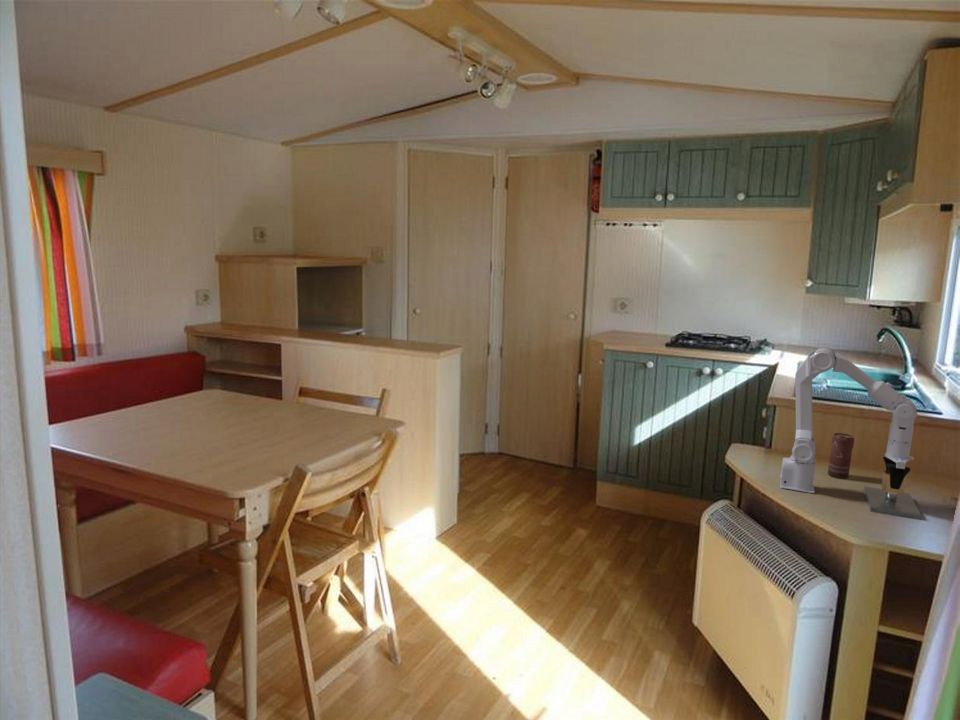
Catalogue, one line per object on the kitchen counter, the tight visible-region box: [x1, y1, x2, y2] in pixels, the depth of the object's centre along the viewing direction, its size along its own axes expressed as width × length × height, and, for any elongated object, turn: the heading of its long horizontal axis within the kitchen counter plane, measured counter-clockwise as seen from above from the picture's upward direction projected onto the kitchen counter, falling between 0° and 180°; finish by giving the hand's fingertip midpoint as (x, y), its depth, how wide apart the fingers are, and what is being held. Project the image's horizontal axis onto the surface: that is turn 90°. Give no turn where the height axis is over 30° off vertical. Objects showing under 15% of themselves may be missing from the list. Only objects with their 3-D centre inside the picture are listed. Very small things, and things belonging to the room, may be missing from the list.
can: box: [827, 432, 855, 480], centre depth 213 cm, size 6×6×14 cm
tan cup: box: [880, 469, 907, 493], centre depth 189 cm, size 6×6×5 cm
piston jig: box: [862, 486, 922, 521], centre depth 190 cm, size 12×18×6 cm, turn 155°
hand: (893, 485), depth 190 cm, fingers closed on tan cup, 5 cm apart
